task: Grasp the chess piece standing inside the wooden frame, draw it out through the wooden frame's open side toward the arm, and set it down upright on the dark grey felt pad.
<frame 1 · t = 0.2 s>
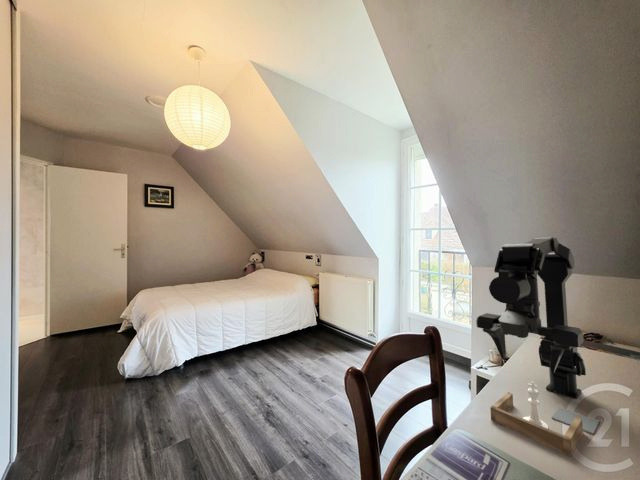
hand: (526, 365, 60), 14 cm above the table, fingers open, 9 cm apart
pad: (575, 420, 62), on the table
chess piece: (535, 427, 60), on the table
wooden frame: (535, 426, 60), on the table
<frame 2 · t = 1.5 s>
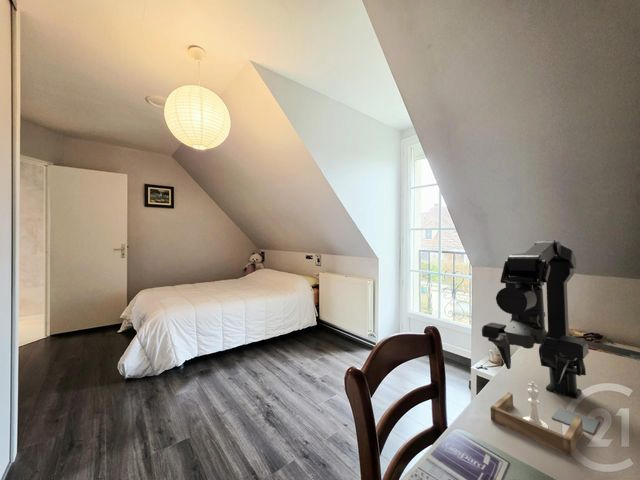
hand: (531, 375, 61), 11 cm above the table, fingers open, 9 cm apart
nothing on the table moved.
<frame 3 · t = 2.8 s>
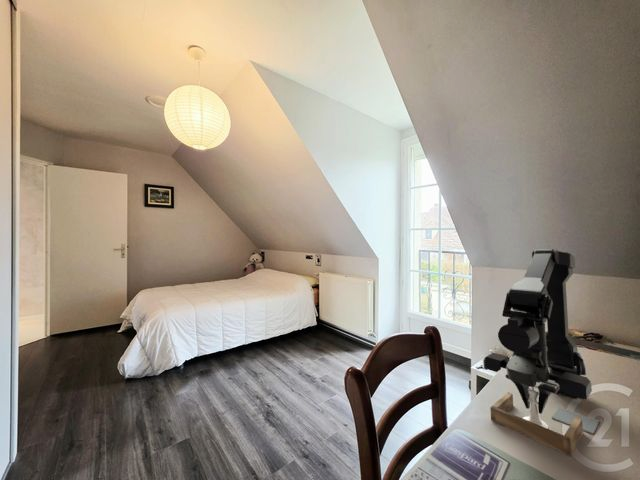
hand: (534, 410, 60), 4 cm above the table, fingers closed on chess piece
chess piece: (535, 427, 60), on the table, touching gripper
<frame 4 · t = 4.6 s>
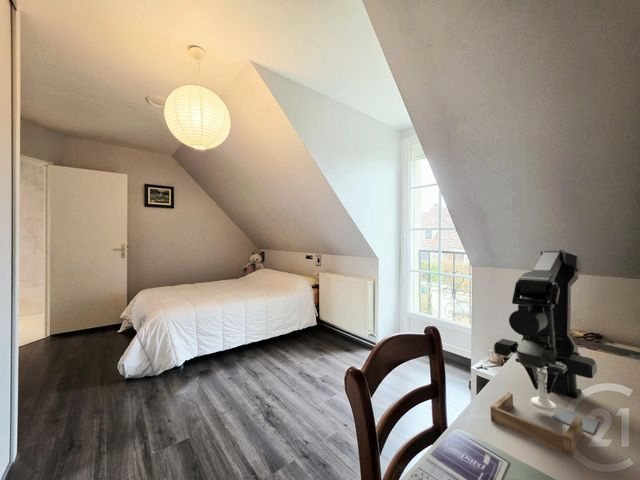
hand: (542, 391, 64), 6 cm above the table, fingers closed on chess piece
chess piece: (543, 406, 64), point 2 cm above the table, touching gripper
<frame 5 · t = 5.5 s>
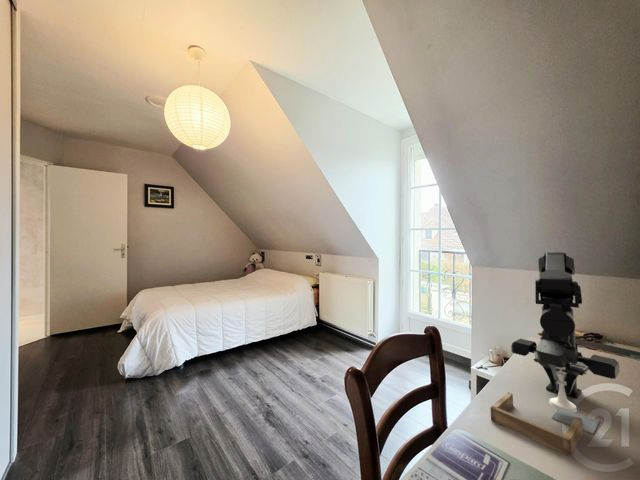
hand: (562, 391, 64), 6 cm above the table, fingers closed on chess piece
chess piece: (562, 407, 63), point 2 cm above the table, touching gripper
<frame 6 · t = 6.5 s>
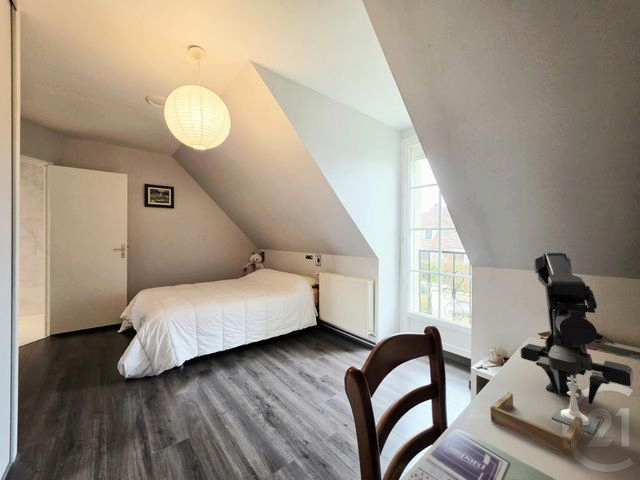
hand: (573, 398, 62), 5 cm above the table, fingers open, 5 cm apart
chess piece: (574, 419, 62), resting on pad
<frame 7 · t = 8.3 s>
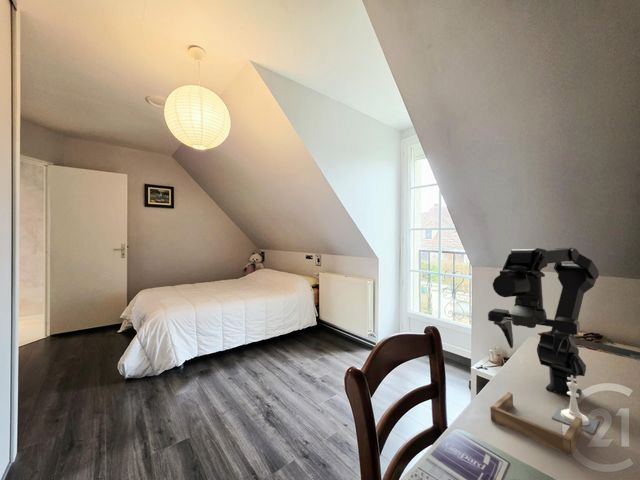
hand: (532, 352, 70), 13 cm above the table, fingers open, 9 cm apart
nothing on the table moved.
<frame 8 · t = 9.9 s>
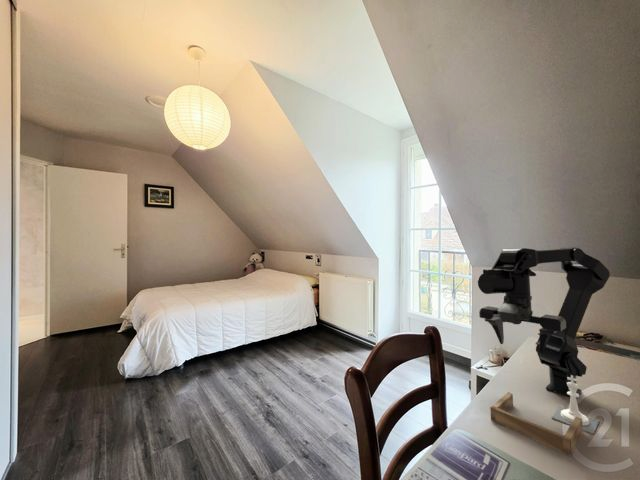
hand: (520, 348, 73), 13 cm above the table, fingers open, 9 cm apart
nothing on the table moved.
at the end: chess piece inside the target area (0.1 cm from its centre), resting on pad; chess piece tilted 0°; the gripper is holding nothing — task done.
